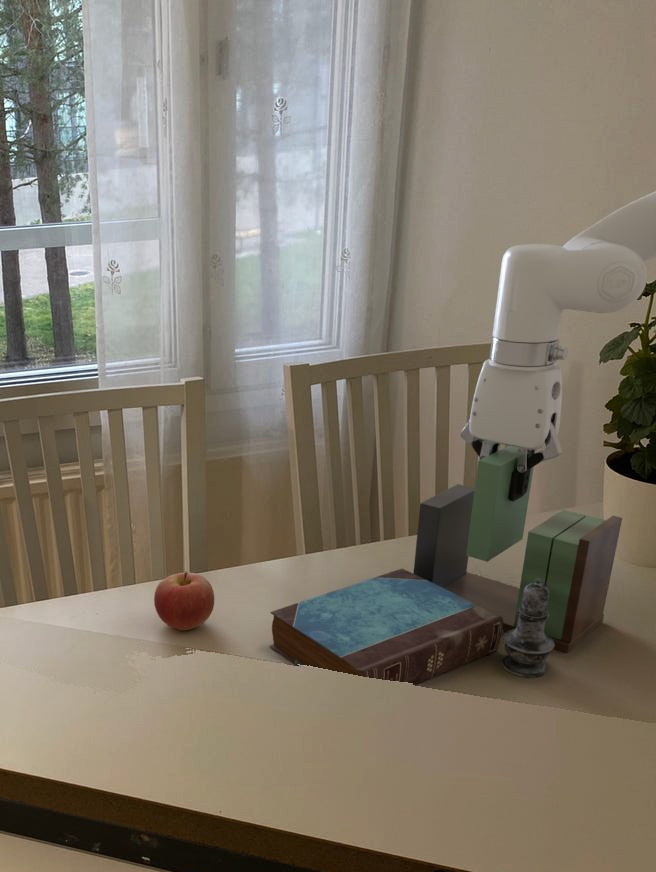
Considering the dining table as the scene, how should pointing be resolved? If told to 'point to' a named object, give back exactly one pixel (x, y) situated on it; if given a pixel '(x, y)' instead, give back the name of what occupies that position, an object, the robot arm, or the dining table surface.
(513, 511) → the green book
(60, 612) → the dining table surface
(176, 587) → the apple
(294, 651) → the book
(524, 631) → the grey chess piece
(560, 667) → the dining table surface
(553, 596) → the book rack
